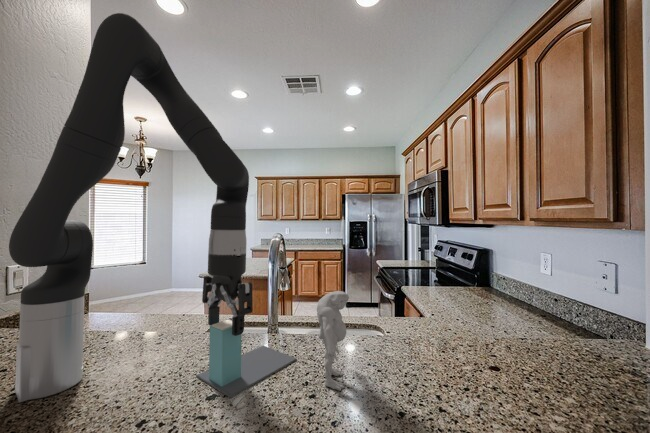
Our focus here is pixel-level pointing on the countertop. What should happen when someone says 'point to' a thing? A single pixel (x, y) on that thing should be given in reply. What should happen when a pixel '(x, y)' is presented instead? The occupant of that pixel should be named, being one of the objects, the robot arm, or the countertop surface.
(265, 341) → the countertop surface
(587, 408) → the countertop surface
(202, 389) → the countertop surface
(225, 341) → the teal block
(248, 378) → the rubber mat
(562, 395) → the countertop surface
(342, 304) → the figurine
